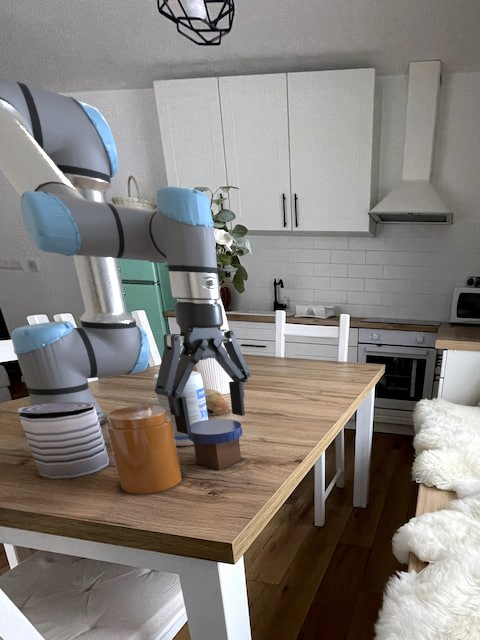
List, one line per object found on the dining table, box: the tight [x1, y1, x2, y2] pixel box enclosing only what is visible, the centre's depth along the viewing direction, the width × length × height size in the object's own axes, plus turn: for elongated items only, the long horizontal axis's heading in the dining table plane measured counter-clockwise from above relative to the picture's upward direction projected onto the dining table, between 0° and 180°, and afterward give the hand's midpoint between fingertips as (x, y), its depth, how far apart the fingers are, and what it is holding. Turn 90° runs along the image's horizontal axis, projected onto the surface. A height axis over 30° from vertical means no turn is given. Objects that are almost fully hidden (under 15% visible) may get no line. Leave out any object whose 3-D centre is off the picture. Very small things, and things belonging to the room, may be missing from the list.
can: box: [15, 402, 110, 480], centre depth 72 cm, size 11×11×12 cm
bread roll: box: [204, 388, 230, 417], centre depth 110 cm, size 10×10×8 cm
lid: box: [188, 418, 243, 444], centre depth 76 cm, size 10×10×2 cm
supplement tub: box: [153, 370, 209, 447], centre depth 86 cm, size 10×10×15 cm
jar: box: [105, 405, 183, 495], centre depth 67 cm, size 10×10×13 cm
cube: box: [193, 438, 242, 471], centre depth 77 cm, size 6×6×7 cm
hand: (213, 423), depth 75 cm, fingers open, 13 cm apart
